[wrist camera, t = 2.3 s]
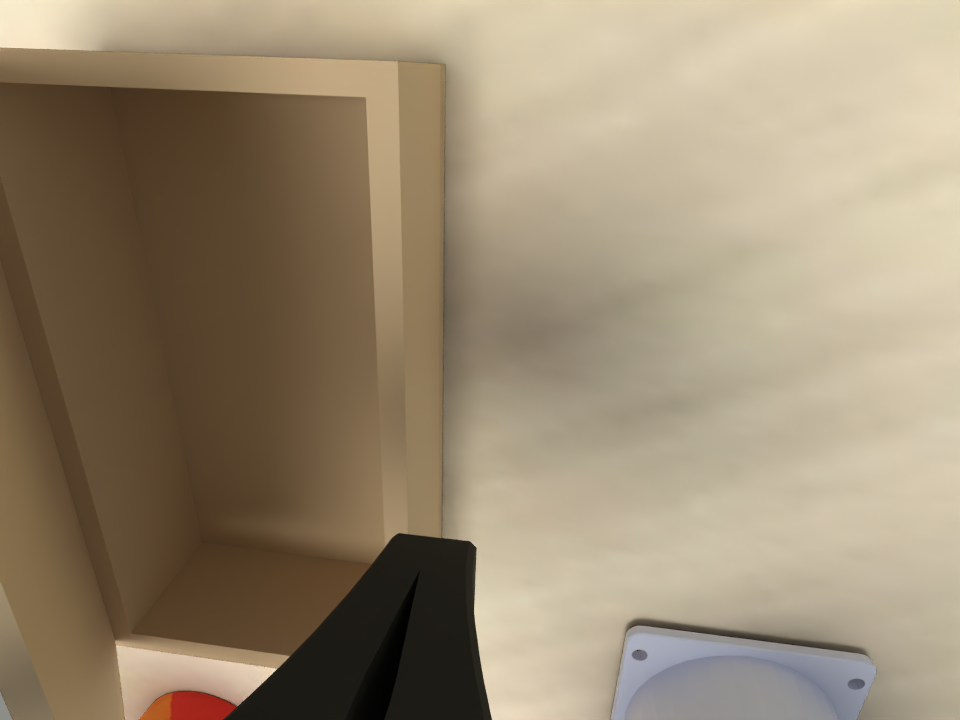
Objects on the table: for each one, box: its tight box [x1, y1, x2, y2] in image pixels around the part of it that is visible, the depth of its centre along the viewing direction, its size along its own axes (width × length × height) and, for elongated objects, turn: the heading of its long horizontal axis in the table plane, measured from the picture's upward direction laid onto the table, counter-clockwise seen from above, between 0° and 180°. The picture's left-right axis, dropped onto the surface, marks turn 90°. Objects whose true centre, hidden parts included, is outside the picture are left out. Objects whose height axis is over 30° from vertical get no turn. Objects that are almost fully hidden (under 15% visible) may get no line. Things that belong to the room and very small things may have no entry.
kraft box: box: [0, 48, 445, 669], centre depth 17 cm, size 16×9×4 cm, turn 178°
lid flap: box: [0, 262, 125, 720], centre depth 12 cm, size 16×9×1 cm
